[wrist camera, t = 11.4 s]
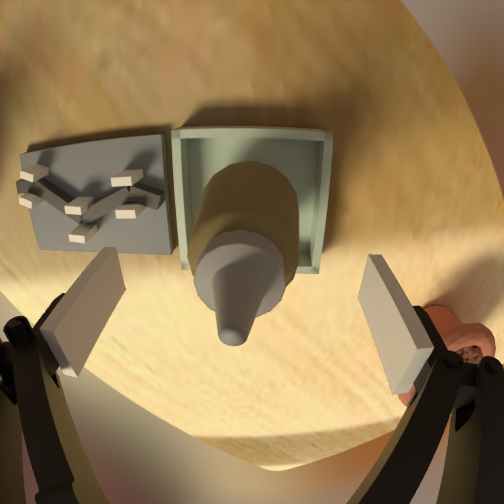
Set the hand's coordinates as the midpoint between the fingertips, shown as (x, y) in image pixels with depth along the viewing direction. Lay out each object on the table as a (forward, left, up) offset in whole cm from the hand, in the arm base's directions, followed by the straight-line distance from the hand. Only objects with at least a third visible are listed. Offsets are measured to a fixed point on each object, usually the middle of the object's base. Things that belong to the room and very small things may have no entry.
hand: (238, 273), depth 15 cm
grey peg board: (0, -17, -14) cm, 22 cm away
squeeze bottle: (0, 0, -14) cm, 14 cm away
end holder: (0, 0, -14) cm, 14 cm away
